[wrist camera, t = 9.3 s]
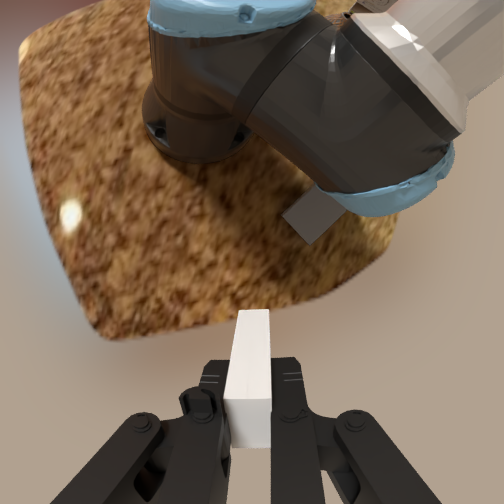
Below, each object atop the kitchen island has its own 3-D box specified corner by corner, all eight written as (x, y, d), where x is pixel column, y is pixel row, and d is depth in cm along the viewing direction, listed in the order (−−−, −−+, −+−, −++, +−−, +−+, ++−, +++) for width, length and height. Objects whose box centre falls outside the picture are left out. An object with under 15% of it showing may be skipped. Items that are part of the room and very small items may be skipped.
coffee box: (364, 41, 42) (411, -3, 27) (338, 22, 41) (380, -26, 26) (374, 24, 44) (415, -15, 28) (350, 7, 42) (388, -35, 27)
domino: (309, 245, 36) (365, 191, 34) (282, 216, 35) (340, 161, 34) (306, 242, 38) (360, 191, 36) (280, 214, 37) (336, 162, 35)
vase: (300, 34, 39) (321, 2, 30) (328, 30, 40) (350, 3, 32) (322, 62, 40) (347, 32, 31) (349, 57, 41) (375, 31, 33)
